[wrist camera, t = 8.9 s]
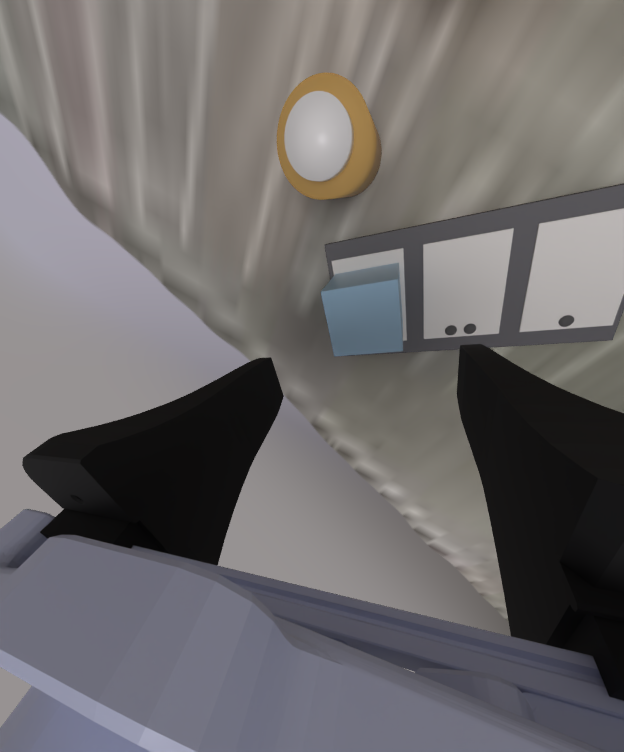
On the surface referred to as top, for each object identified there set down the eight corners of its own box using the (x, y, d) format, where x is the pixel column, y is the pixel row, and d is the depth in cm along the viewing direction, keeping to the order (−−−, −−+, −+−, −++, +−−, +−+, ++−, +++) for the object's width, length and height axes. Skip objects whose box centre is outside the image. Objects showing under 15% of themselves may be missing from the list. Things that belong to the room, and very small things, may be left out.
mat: (608, 337, 16) (613, 341, 16) (344, 353, 22) (343, 357, 21) (667, 174, 12) (676, 174, 12) (325, 244, 18) (324, 245, 17)
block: (402, 323, 19) (402, 351, 15) (345, 330, 20) (334, 356, 17) (398, 262, 17) (397, 279, 13) (335, 274, 18) (320, 291, 15)
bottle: (384, 188, 15) (374, 186, 10) (322, 204, 17) (283, 210, 11) (378, 102, 14) (362, 42, 8) (310, 126, 15) (255, 88, 9)
